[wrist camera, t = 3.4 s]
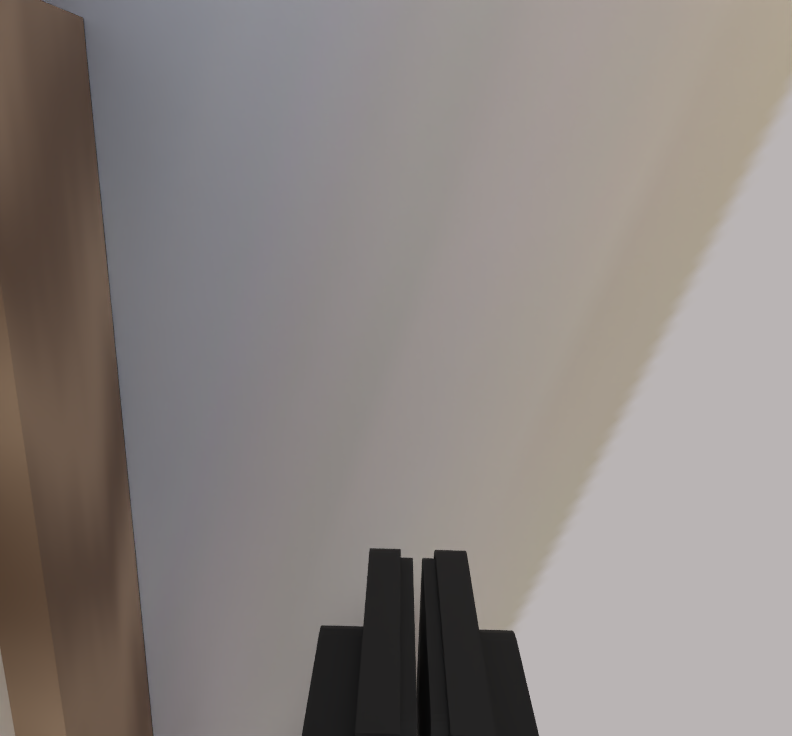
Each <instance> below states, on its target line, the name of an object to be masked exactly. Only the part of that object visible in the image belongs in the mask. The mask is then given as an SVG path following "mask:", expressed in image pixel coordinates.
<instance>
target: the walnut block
mask: <svg viewBox="0 0 792 736" xmlns="http://www.w3.org/2000/svg"><path fill="white" fill-rule="evenodd" d="M0 650H1V656H2V662H3V668H4V674H5V679H6V685H7V691H8V697H9V702H10V708H11V714H12V720H13V726H14V731H15V736H153V731H152V720H151V710H150V700H149V690H148V679H147V669H146V659H145V649H144V638H143V628H142V618H141V608H140V597H139V587H138V577H137V567H136V556H135V546H134V536H133V526H132V515H131V505H130V495H129V485H128V474H127V464H126V454H125V444H124V433H123V423H122V413H121V403H120V392H119V382H118V372H117V362H116V351H115V341H114V331H113V321H112V310H111V300H110V290H109V280H108V269H107V259H106V249H105V239H104V228H103V218H102V208H101V198H100V187H99V177H98V167H97V157H96V146H95V136H94V126H93V116H92V105H91V95H90V85H89V75H88V64H87V54H86V44H85V34H84V23H83V18H82V17H80V16H77V15H75V14H73V13H70V12H68V11H65V10H63V9H60V8H58V7H56V6H53V5H51V4H48V3H46V2H43V1H41V0H0Z"/></svg>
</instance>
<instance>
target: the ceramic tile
mask: <svg viewBox="0 0 792 736" xmlns="http://www.w3.org/2000/svg"><path fill="white" fill-rule="evenodd" d="M0 736H15V731H14V726H13V720H12V714H11V708H10V702H9V697H8V691H7V685H6V679H5V674H4V668H3V662H2V656H1V650H0Z"/></svg>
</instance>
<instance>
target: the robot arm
mask: <svg viewBox="0 0 792 736" xmlns="http://www.w3.org/2000/svg"><path fill="white" fill-rule="evenodd" d="M302 736H539V734H538V730H537V726H536V721H535V717H534V713H533V708H532V704H531V700H530V695H529V691H528V687H527V683H526V678H525V674H524V670H523V666H522V661H521V657H520V653H519V648H518V644H517V640H516V637H515V633H514V632H513V631H507V630H479V627H478V621H477V615H476V608H475V602H474V596H473V590H472V583H471V577H470V571H469V565H468V559H467V553H466V551H451V550H435V551H434V559H432V558H423V559H422V574H421V597H420V621H419V644H418V667H417V698H416V661H415V624H414V587H413V558H401V549H376V548H370V551H369V563H368V576H367V588H366V601H365V613H364V626H363V627H359V626H321V628H320V632H319V638H318V644H317V649H316V655H315V661H314V667H313V673H312V679H311V685H310V691H309V696H308V702H307V708H306V714H305V720H304V726H303V732H302Z"/></svg>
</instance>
